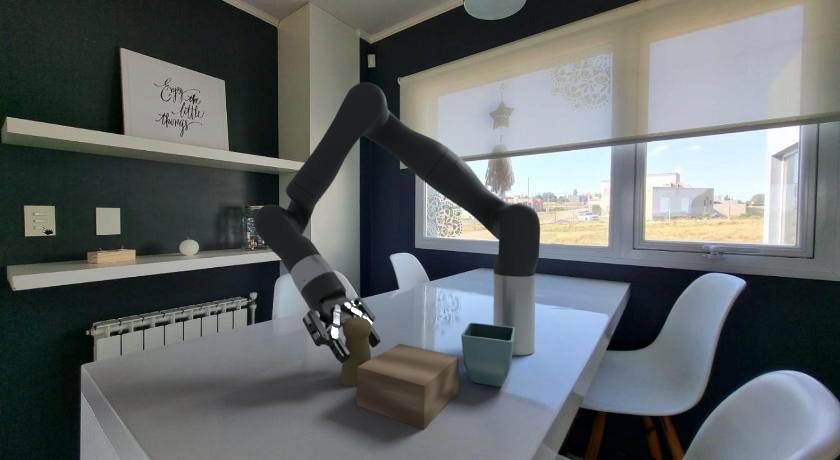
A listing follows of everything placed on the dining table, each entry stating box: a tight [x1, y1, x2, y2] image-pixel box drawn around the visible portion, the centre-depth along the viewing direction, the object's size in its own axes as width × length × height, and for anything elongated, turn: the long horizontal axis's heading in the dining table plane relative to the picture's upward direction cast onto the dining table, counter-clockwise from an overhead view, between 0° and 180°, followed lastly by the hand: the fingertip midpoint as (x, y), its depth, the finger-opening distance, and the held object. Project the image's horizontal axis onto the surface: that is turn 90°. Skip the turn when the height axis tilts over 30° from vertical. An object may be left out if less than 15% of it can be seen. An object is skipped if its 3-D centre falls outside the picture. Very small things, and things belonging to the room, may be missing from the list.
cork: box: [339, 317, 373, 388], centre depth 60 cm, size 6×6×11 cm
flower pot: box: [460, 322, 515, 388], centre depth 60 cm, size 9×9×9 cm
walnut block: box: [356, 343, 460, 430], centre depth 53 cm, size 12×12×6 cm
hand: (362, 351), depth 59 cm, fingers open, 8 cm apart
